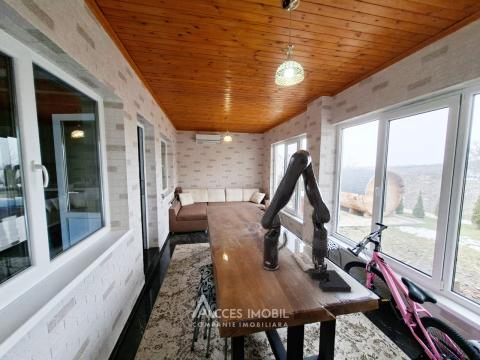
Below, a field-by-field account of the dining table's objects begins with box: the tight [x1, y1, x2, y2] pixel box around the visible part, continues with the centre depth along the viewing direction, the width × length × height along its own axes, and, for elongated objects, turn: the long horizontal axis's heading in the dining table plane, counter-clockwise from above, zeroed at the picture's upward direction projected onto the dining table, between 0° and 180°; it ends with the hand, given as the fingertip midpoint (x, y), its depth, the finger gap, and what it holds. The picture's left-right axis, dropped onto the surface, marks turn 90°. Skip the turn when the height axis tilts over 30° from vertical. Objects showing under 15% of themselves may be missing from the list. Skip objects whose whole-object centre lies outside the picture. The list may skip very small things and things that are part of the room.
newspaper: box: [291, 251, 321, 273], centre depth 125 cm, size 23×12×2 cm, turn 4°
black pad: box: [307, 268, 329, 281], centre depth 103 cm, size 5×9×4 cm, turn 91°
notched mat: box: [318, 269, 352, 293], centre depth 103 cm, size 16×14×2 cm
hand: (318, 276), depth 103 cm, fingers closed on black pad, 5 cm apart
